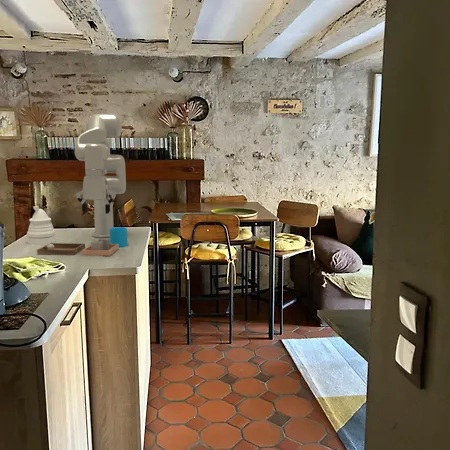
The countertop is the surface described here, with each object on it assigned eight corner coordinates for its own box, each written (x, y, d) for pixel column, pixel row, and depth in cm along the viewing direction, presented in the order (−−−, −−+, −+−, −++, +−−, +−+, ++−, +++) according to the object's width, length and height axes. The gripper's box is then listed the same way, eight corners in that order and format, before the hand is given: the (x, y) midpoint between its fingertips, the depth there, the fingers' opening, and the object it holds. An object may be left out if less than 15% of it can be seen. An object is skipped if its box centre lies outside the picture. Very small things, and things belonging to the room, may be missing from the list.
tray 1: (50, 248, 209) (50, 243, 208) (85, 248, 208) (84, 243, 208) (37, 255, 195) (37, 249, 194) (74, 255, 194) (73, 250, 194)
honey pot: (38, 246, 213) (36, 208, 210) (21, 243, 220) (19, 206, 217) (61, 241, 224) (59, 205, 221) (44, 239, 231) (42, 204, 228)
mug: (126, 247, 213) (125, 230, 211) (108, 247, 212) (107, 230, 211) (129, 242, 225) (129, 225, 223) (113, 242, 224) (112, 225, 223)
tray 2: (92, 249, 208) (92, 243, 208) (118, 249, 208) (118, 244, 207) (82, 256, 194) (81, 250, 194) (109, 256, 194) (109, 250, 193)
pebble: (48, 250, 203) (48, 243, 203) (55, 250, 203) (55, 243, 203) (45, 251, 200) (45, 244, 200) (53, 251, 200) (52, 244, 199)
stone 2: (101, 248, 206) (100, 238, 205) (110, 249, 206) (109, 238, 205) (98, 250, 202) (98, 239, 201) (107, 250, 202) (107, 239, 201)
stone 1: (94, 251, 200) (94, 240, 199) (103, 251, 200) (103, 240, 199) (91, 253, 196) (91, 242, 195) (100, 254, 196) (100, 242, 195)
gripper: (117, 173, 196) (118, 212, 199) (77, 172, 196) (79, 211, 199) (112, 174, 189) (113, 214, 191) (71, 173, 189) (73, 214, 192)
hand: (96, 213), depth 195 cm, fingers open, 9 cm apart
